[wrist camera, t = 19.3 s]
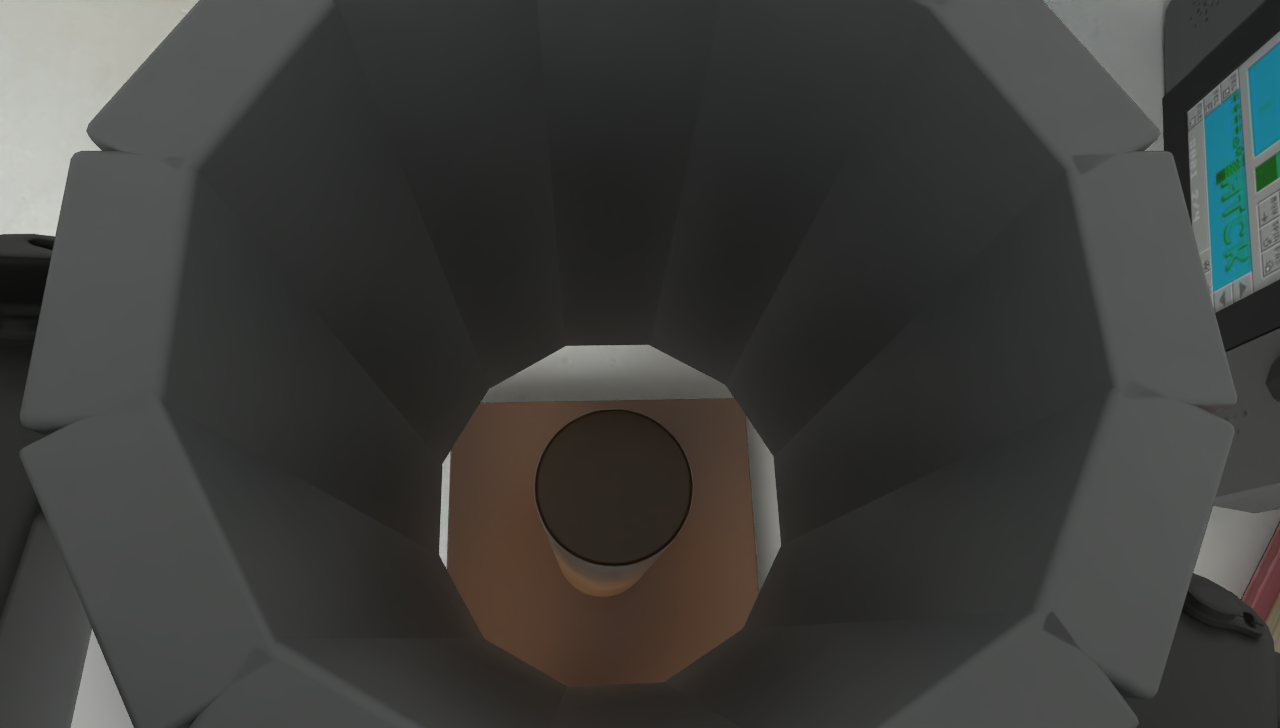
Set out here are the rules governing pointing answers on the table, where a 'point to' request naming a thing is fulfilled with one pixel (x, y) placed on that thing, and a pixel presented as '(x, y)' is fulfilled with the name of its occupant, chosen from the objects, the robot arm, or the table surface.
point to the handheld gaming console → (1234, 211)
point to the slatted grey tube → (629, 315)
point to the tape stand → (604, 533)
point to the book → (1267, 589)
